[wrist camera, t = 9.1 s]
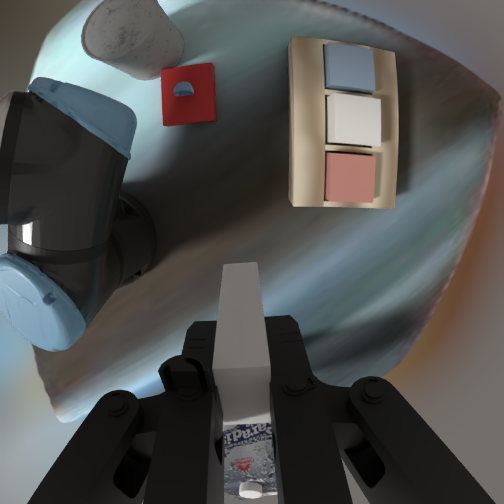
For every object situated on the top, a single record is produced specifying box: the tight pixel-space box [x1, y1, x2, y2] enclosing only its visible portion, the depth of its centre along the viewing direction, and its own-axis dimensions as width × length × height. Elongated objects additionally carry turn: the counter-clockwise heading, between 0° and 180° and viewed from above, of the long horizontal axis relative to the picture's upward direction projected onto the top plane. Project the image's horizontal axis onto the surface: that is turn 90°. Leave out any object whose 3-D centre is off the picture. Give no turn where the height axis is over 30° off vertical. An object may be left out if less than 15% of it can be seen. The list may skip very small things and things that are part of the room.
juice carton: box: [223, 421, 277, 500], centre depth 38 cm, size 9×10×27 cm
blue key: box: [323, 42, 375, 94], centre depth 28 cm, size 6×6×3 cm
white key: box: [327, 93, 381, 147], centre depth 30 cm, size 6×6×3 cm
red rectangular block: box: [161, 63, 217, 127], centre depth 32 cm, size 8×7×6 cm
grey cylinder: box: [81, 0, 184, 80], centre depth 26 cm, size 10×10×12 cm
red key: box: [324, 152, 376, 203], centre depth 33 cm, size 6×6×3 cm
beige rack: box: [287, 36, 398, 209], centre depth 33 cm, size 14×22×5 cm, turn 1°
